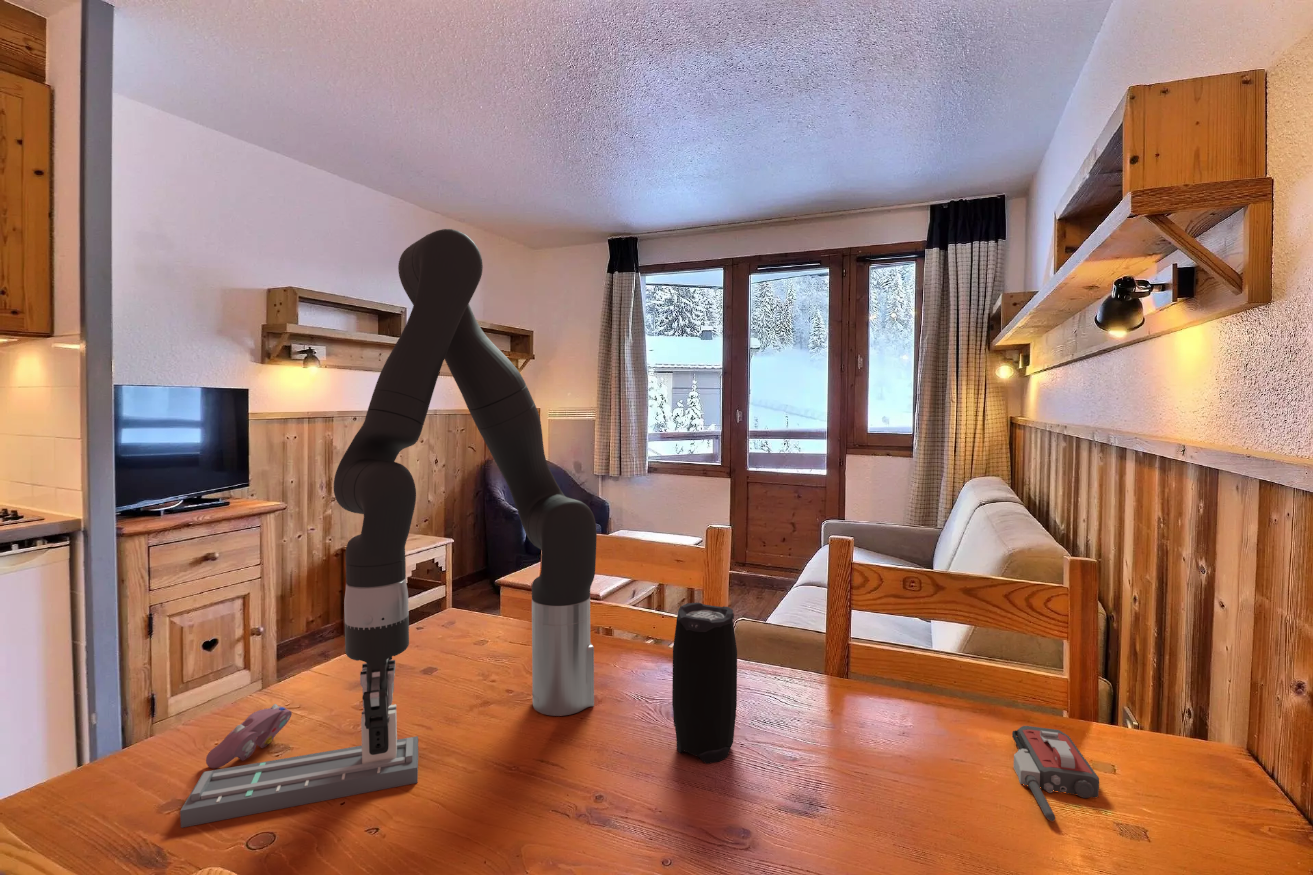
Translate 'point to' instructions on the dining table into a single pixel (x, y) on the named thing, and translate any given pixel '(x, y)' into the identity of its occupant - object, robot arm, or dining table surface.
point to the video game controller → (249, 736)
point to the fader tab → (391, 739)
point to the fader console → (296, 782)
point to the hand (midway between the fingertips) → (379, 745)
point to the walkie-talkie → (1052, 765)
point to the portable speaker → (704, 681)
